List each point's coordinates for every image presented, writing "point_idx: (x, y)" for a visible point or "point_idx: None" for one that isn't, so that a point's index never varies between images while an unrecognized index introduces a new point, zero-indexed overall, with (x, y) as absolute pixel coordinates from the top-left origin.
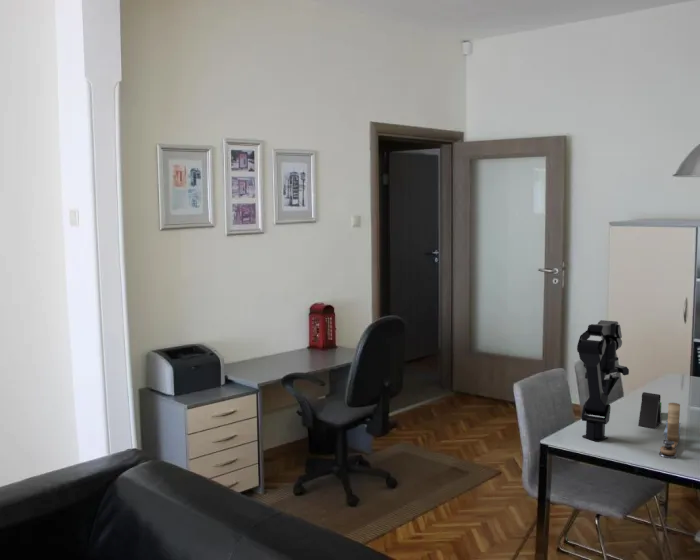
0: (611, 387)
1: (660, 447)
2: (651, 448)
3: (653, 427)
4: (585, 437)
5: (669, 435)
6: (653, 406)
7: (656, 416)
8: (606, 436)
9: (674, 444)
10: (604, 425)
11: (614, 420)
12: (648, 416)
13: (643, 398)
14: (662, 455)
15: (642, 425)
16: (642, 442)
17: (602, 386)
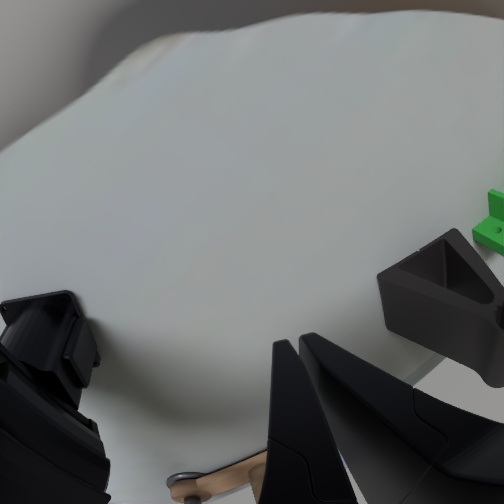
0: (353, 470)
1: (177, 492)
2: (188, 453)
3: (387, 325)
4: (6, 322)
5: (252, 488)
6: (462, 351)
7: (426, 347)
8: (97, 358)
9: (235, 486)
10: (80, 390)
11: (366, 152)
12: (420, 322)
13: (492, 332)
14: (168, 485)
15: (381, 292)
16: (206, 421)
17: (269, 461)
